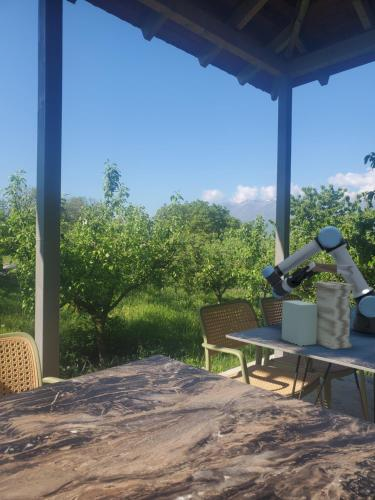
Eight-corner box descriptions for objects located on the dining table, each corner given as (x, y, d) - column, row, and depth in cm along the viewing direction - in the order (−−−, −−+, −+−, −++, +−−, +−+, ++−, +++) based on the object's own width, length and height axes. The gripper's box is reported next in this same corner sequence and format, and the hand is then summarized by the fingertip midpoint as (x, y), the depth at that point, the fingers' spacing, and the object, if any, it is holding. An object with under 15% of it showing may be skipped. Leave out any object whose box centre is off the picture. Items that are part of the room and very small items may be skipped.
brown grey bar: (311, 270, 209) (311, 262, 209) (353, 274, 184) (353, 265, 184) (305, 270, 208) (305, 262, 208) (346, 274, 182) (346, 265, 182)
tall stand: (330, 340, 201) (332, 281, 201) (352, 347, 189) (354, 284, 188) (312, 342, 197) (313, 282, 196) (332, 349, 184) (334, 285, 183)
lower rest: (297, 337, 205) (298, 300, 205) (316, 344, 193) (317, 304, 192) (281, 339, 201) (282, 301, 201) (299, 345, 189) (300, 305, 188)
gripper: (305, 288, 223) (333, 270, 204) (281, 289, 216) (306, 270, 197) (301, 276, 226) (328, 257, 207) (277, 276, 219) (302, 257, 200)
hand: (317, 263), depth 202 cm, fingers closed on brown grey bar, 4 cm apart
